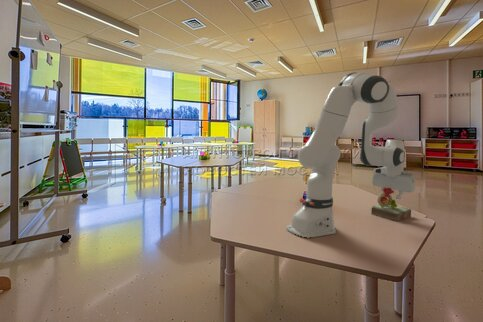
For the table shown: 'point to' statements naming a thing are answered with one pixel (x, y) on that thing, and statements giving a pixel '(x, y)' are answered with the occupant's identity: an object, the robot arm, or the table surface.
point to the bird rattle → (384, 200)
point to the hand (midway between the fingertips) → (391, 197)
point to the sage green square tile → (391, 212)
